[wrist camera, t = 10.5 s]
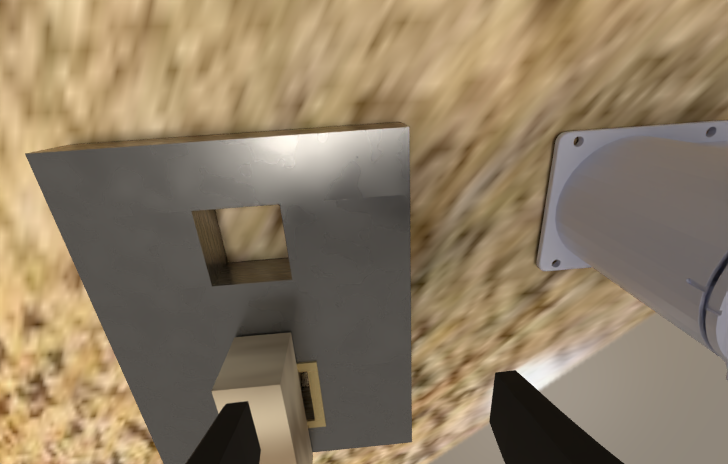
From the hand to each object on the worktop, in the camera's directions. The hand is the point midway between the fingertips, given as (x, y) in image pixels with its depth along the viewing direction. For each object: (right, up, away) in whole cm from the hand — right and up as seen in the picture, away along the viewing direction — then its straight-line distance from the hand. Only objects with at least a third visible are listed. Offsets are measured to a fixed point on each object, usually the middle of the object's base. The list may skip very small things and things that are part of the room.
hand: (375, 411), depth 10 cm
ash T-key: (-6, -4, +12) cm, 14 cm away
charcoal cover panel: (-6, +1, +11) cm, 12 cm away
